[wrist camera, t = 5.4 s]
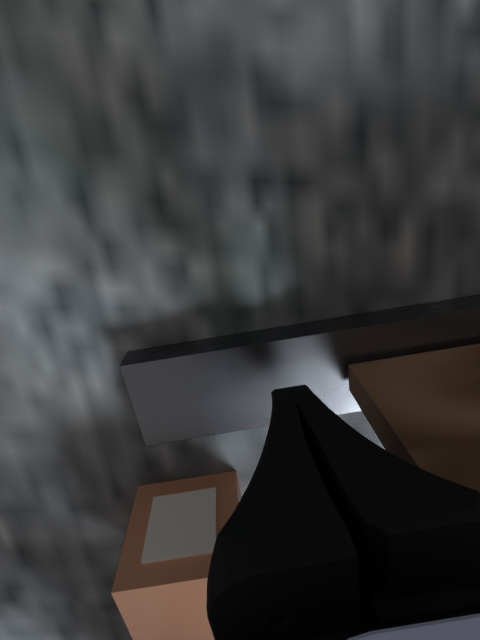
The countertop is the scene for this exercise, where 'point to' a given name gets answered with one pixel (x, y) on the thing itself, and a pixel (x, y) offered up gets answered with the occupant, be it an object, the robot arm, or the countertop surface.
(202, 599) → the cube
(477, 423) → the panel
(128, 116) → the countertop surface
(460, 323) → the rail
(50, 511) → the countertop surface
